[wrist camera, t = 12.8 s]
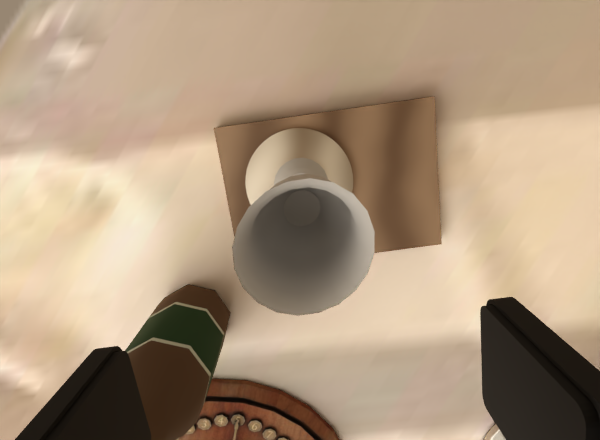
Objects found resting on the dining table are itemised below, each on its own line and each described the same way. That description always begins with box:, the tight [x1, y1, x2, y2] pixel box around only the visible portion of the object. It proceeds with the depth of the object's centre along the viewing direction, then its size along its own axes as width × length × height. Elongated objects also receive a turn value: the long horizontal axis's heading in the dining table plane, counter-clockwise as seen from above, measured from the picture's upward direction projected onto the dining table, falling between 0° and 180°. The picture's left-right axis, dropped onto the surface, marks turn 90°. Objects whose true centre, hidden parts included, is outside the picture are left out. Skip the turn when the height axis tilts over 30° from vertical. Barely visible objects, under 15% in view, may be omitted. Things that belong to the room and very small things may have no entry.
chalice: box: [232, 158, 375, 316], centre depth 28 cm, size 7×7×18 cm
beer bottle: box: [125, 285, 230, 440], centre depth 31 cm, size 8×8×24 cm
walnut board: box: [214, 97, 441, 253], centre depth 38 cm, size 20×14×2 cm
